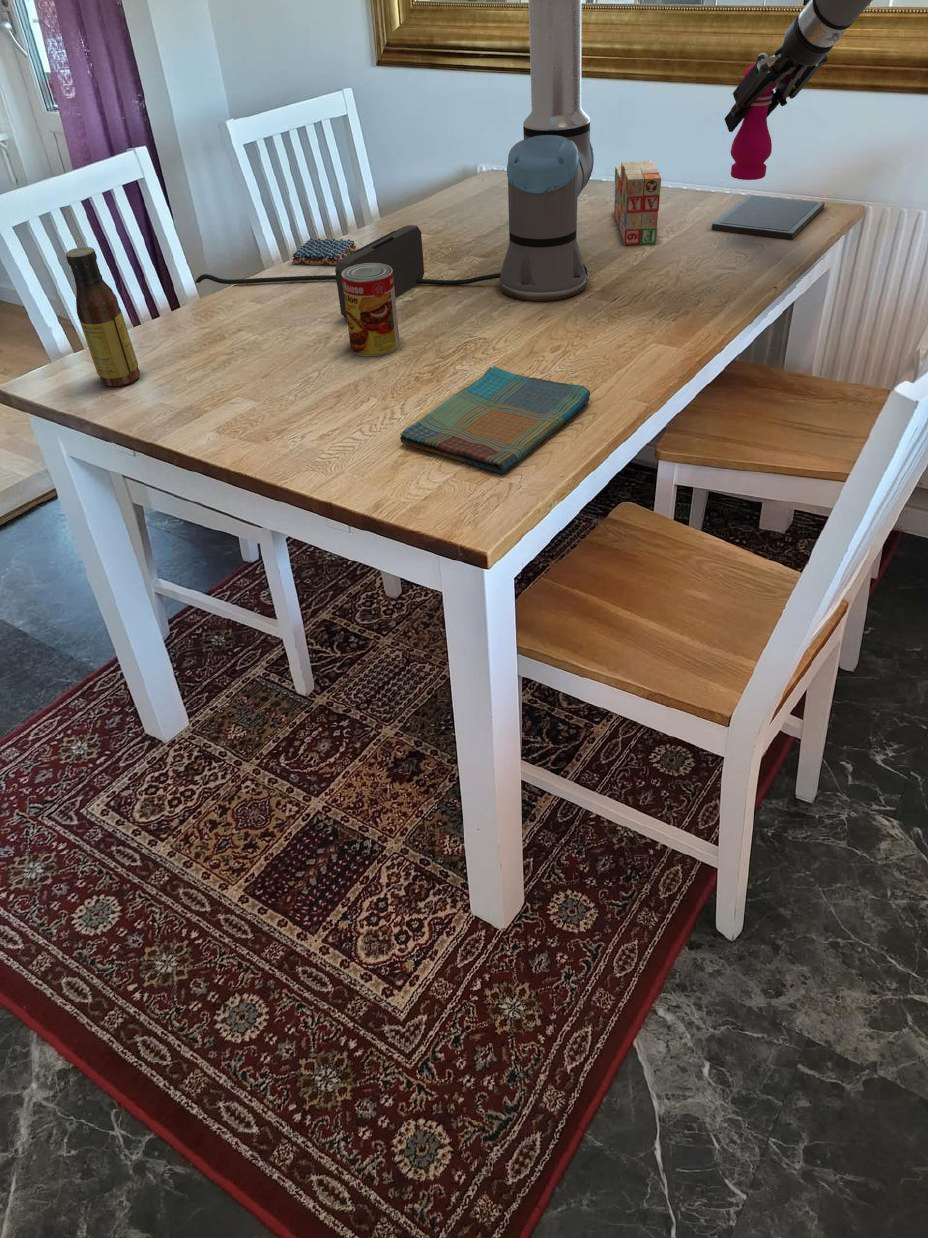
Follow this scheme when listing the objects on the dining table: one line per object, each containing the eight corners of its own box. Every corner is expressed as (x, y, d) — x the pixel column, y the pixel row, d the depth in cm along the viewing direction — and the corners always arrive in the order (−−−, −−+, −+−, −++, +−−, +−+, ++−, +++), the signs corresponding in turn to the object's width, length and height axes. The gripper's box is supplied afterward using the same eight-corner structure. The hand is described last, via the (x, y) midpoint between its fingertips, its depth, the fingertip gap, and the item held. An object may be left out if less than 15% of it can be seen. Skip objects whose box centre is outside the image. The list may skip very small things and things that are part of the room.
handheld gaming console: (413, 277, 180) (408, 221, 174) (425, 279, 179) (421, 223, 173) (339, 321, 165) (331, 261, 159) (352, 323, 164) (345, 263, 158)
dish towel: (594, 403, 136) (595, 386, 135) (506, 477, 121) (505, 459, 120) (491, 378, 144) (491, 362, 143) (396, 445, 129) (395, 428, 128)
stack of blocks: (613, 212, 205) (615, 149, 197) (643, 211, 205) (647, 148, 197) (624, 245, 188) (627, 177, 181) (656, 244, 188) (661, 176, 180)
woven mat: (290, 265, 189) (288, 254, 188) (309, 247, 197) (308, 237, 196) (340, 266, 187) (339, 256, 185) (358, 248, 195) (357, 238, 193)
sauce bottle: (125, 368, 154) (89, 239, 142) (149, 377, 151) (114, 246, 138) (90, 383, 150) (49, 252, 138) (114, 392, 147) (74, 260, 135)
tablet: (791, 239, 186) (792, 232, 185) (711, 229, 193) (712, 223, 192) (823, 208, 200) (825, 201, 200) (748, 199, 207) (748, 193, 207)
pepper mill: (726, 180, 178) (740, 55, 166) (729, 169, 184) (743, 48, 171) (766, 181, 177) (784, 55, 164) (769, 171, 182) (786, 48, 169)
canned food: (345, 342, 158) (335, 267, 150) (391, 333, 160) (383, 259, 152) (358, 360, 152) (348, 283, 144) (406, 350, 154) (399, 274, 146)
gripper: (778, 56, 153) (706, 148, 175) (870, 43, 158) (788, 134, 180) (762, 13, 153) (692, 110, 175) (854, 2, 158) (775, 98, 181)
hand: (741, 122), depth 178 cm, fingers closed on pepper mill, 5 cm apart
